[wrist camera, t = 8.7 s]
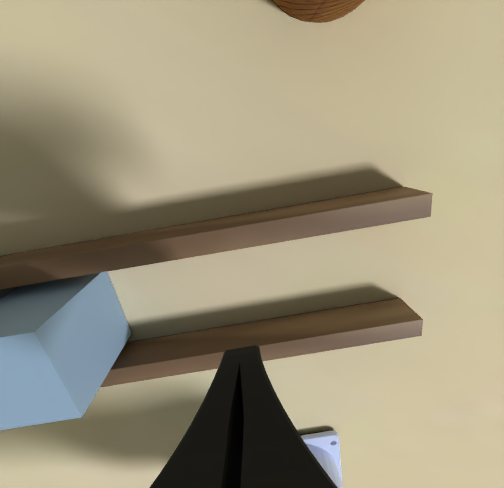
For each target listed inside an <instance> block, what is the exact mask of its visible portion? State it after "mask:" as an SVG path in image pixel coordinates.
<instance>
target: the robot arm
mask: <svg viewBox="0 0 504 488" xmlns="http://www.w3.org/2000/svg"><path fill="white" fill-rule="evenodd" d="M150 488H343V485H342V474H341V460H340V446H339V437H338V434H337V432H336V431H326V432H320V433H313V434H307V435H299V433H298V431H297V430H296V428H295V427H294V425H293V423H292V422H291V420H290V418H289V417H288V415H287V413H286V412H285V410H284V408H283V406H282V404H281V402H280V401H279V399H278V397H277V395H276V393H275V391H274V389H273V387H272V384H271V382H270V380H269V378H268V376H267V373H266V371H265V368H264V365H263V362H262V358H261V353H260V348H259V347H258V346H257V345H254V346H248V347H242V348H236V349H230V350H226V351H225V352H224V354H223V357H222V360H221V363H220V365H219V368H218V370H217V373H216V375H215V377H214V380H213V382H212V384H211V386H210V388H209V390H208V392H207V395H206V397H205V399H204V401H203V403H202V405H201V407H200V408H199V410H198V412H197V414H196V416H195V418H194V420H193V422H192V423H191V425H190V427H189V429H188V430H187V432H186V434H185V435H184V437H183V439H182V440H181V442H180V444H179V445H178V447H177V448H176V450H175V452H174V453H173V455H172V456H171V458H170V459H169V461H168V462H167V464H166V465H165V466H164V468H163V469H162V471H161V472H160V474H159V475H158V477H157V478H156V480H155V481H154V482H153V484H152V485H151V487H150Z"/></svg>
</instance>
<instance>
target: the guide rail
mask: <svg viewBox="0 0 504 488" xmlns="http://www.w3.org/2000/svg"><path fill="white" fill-rule="evenodd" d="M431 204H432V193H429V192H425V191H420V190H416V189H412V188H408V187H399V188H393V189H388V190H382V191H376V192H370V193H364V194H358V195H353V196H347V197H341V198H335V199H329V200H324V201H318V202H312V203H306V204H300V205H294V206H289V207H283V208H277V209H271V210H265V211H260V212H254V213H248V214H242V215H236V216H230V217H225V218H219V219H213V220H207V221H201V222H196V223H190V224H184V225H178V226H172V227H167V228H161V229H155V230H149V231H143V232H137V233H132V234H126V235H120V236H114V237H108V238H103V239H97V240H91V241H85V242H79V243H73V244H68V245H62V246H56V247H50V248H44V249H39V250H33V251H27V252H21V253H15V254H10V255H4V256H0V299H1V298H2V297H4V296H6V295H7V294H9V293H10V292H12V291H13V290H15V289H17V288H18V287H20V286H24V285H29V284H35V283H41V282H47V281H53V280H59V279H65V278H71V277H77V276H83V275H89V274H94V273H100V272H106V271H112V270H118V269H124V268H130V267H136V266H142V265H148V264H153V263H159V262H165V261H171V260H177V259H183V258H189V257H195V256H201V255H207V254H213V253H218V252H224V251H230V250H236V249H242V248H248V247H254V246H260V245H266V244H272V243H277V242H283V241H289V240H295V239H301V238H307V237H313V236H319V235H325V234H331V233H336V232H342V231H348V230H354V229H360V228H366V227H372V226H378V225H384V224H390V223H396V222H401V221H407V220H413V219H419V218H425V217H431ZM422 324H423V319H422V318H421V317H420V316H419V315H418V314H416V313H415V312H414V311H413V310H412V309H411V308H410V307H409V306H408V305H407V304H406V303H405V302H404V301H403V300H402V299H401V298H396V299H390V300H384V301H378V302H372V303H366V304H360V305H354V306H347V307H341V308H335V309H329V310H323V311H317V312H311V313H305V314H299V315H292V316H286V317H280V318H274V319H268V320H262V321H256V322H250V323H244V324H237V325H231V326H225V327H219V328H213V329H207V330H201V331H195V332H189V333H182V334H176V335H170V336H164V337H158V338H152V339H146V340H140V341H134V342H127V343H126V344H125V345H124V347H123V349H122V350H121V352H120V354H119V356H118V357H117V359H116V361H115V362H114V364H113V366H112V367H111V369H110V371H109V372H108V374H107V376H106V378H105V379H104V381H103V383H102V384H101V386H100V387H105V386H111V385H117V384H124V383H130V382H136V381H142V380H149V379H155V378H161V377H167V376H173V375H180V374H186V373H192V372H198V371H205V370H211V369H217V368H219V365H220V363H221V360H222V357H223V354H224V352H225V351H226V350H230V349H236V348H242V347H248V346H254V345H257V346H258V347H259V348H260V353H261V358H262V361H267V360H273V359H279V358H286V357H292V356H298V355H304V354H310V353H317V352H323V351H329V350H335V349H342V348H348V347H354V346H360V345H367V344H373V343H379V342H385V341H391V340H398V339H404V338H410V337H416V336H422Z"/></svg>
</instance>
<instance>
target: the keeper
mask: <svg viewBox="0 0 504 488" xmlns="http://www.w3.org/2000/svg"><path fill="white" fill-rule="evenodd" d="M130 335H131V330H130V328H129V325H128V323H127V320H126V318H125V315H124V313H123V310H122V308H121V305H120V303H119V300H118V298H117V295H116V293H115V290H114V288H113V285H112V283H111V280H110V278H109V275H108V273H107V271H106V272H100V273H94V274H89V275H83V276H77V277H71V278H65V279H59V280H53V281H47V282H41V283H35V284H29V285H24V286H20V287H18V288H17V289H15V290H13V291H12V292H10V293H9V294H7V295H6V296H4V297H2V298H1V299H0V430H6V429H12V428H19V427H25V426H31V425H37V424H44V423H50V422H56V421H63V420H69V419H75V418H82V417H83V415H84V413H85V411H86V410H87V408H88V406H89V405H90V403H91V401H92V400H93V398H94V396H95V395H96V393H97V391H98V389H99V388H100V386H101V384H102V383H103V381H104V379H105V378H106V376H107V374H108V372H109V371H110V369H111V367H112V366H113V364H114V362H115V361H116V359H117V357H118V356H119V354H120V352H121V350H122V349H123V347H124V345H125V344H126V342H127V340H128V339H129V337H130Z"/></svg>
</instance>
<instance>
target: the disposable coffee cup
mask: <svg viewBox="0 0 504 488" xmlns="http://www.w3.org/2000/svg"><path fill="white" fill-rule="evenodd" d="M273 1H274V2H275V3H276V4H277V5H278V6H279V7H280V8H281V9H282V10H283V11H284V12H286V13H287V14H289V15H290V16H292V17H294V18H297V19H300V20H302V21H306V22H318V23H321V22H329V21H332V20H335V19H338V18H341V17H343V16H345V15H346V14H348V13H349V12H351V11H353V10H354V9H356V8H357V7H358V6H359V5H360V4H361V3H362V2H364V1H365V0H273Z"/></svg>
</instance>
